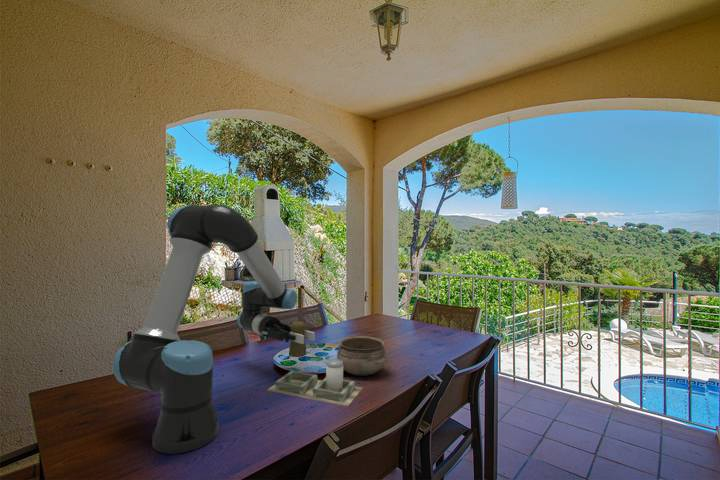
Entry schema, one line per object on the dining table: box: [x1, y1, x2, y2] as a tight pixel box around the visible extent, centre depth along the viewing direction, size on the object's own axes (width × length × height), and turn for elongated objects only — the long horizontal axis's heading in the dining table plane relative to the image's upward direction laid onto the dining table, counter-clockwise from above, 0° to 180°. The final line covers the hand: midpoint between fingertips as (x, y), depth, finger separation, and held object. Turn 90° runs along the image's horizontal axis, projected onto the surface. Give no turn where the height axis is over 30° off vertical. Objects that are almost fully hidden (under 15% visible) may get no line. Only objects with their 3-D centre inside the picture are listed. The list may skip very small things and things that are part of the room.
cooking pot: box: [336, 335, 388, 377], centre depth 131 cm, size 25×19×12 cm
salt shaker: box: [325, 358, 344, 392], centre depth 112 cm, size 6×6×10 cm
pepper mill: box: [288, 320, 307, 358], centre depth 117 cm, size 6×6×11 cm
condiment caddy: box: [265, 370, 363, 408], centre depth 114 cm, size 14×29×4 cm, turn 70°
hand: (308, 338), depth 113 cm, fingers closed on pepper mill, 4 cm apart
